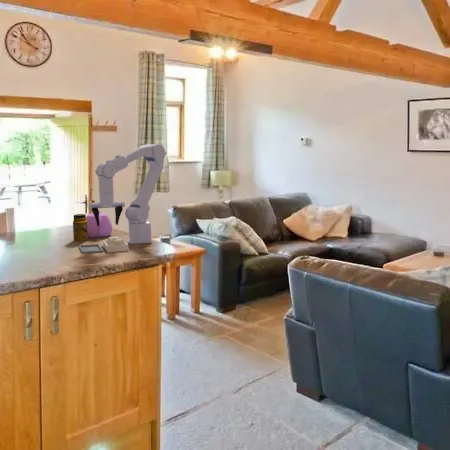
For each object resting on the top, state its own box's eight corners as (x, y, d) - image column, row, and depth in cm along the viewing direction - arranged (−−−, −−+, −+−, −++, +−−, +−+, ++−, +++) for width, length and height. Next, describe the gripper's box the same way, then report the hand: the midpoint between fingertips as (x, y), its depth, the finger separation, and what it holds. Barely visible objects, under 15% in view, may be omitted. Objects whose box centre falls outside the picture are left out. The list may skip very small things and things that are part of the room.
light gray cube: (117, 245, 217) (117, 236, 216) (120, 247, 214) (120, 237, 213) (108, 246, 215) (108, 237, 215) (111, 248, 212) (110, 238, 211)
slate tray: (99, 246, 217) (98, 243, 217) (103, 253, 205) (103, 250, 205) (78, 248, 214) (78, 245, 214) (82, 254, 202) (82, 251, 202)
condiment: (90, 242, 227) (89, 215, 225) (71, 244, 222) (70, 216, 220) (85, 239, 233) (84, 213, 231) (66, 241, 228) (65, 214, 226)
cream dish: (123, 245, 220) (122, 238, 219) (128, 251, 208) (128, 244, 208) (102, 247, 217) (102, 240, 216) (107, 253, 205) (107, 246, 205)
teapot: (115, 238, 235) (115, 212, 233) (85, 240, 230) (84, 214, 228) (107, 231, 253) (107, 207, 251) (80, 232, 248) (78, 208, 246)
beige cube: (118, 248, 213) (118, 238, 212) (123, 249, 210) (123, 240, 209) (109, 249, 210) (109, 239, 209) (114, 251, 207) (114, 241, 206)
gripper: (122, 190, 219) (123, 222, 222) (87, 192, 214) (88, 224, 216) (125, 192, 213) (126, 225, 215) (89, 194, 208) (90, 227, 210)
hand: (107, 225), depth 215 cm, fingers open, 7 cm apart
